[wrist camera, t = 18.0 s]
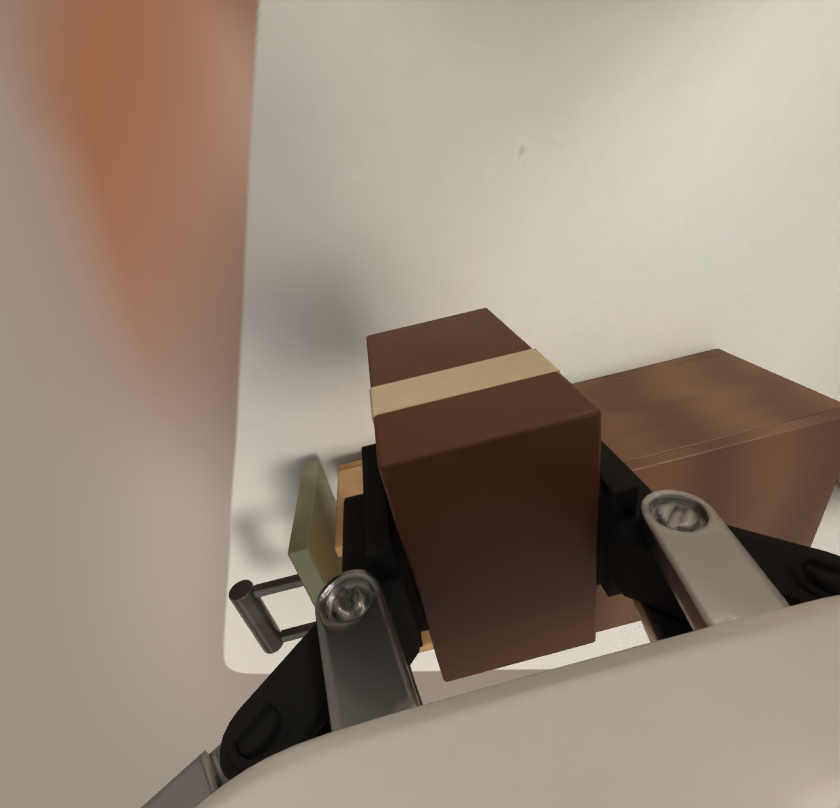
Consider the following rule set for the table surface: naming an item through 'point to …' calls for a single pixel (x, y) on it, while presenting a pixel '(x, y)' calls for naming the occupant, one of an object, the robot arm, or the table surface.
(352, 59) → the table surface
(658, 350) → the table surface
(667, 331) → the table surface
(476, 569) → the snack box
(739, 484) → the cabinet
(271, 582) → the drawer
